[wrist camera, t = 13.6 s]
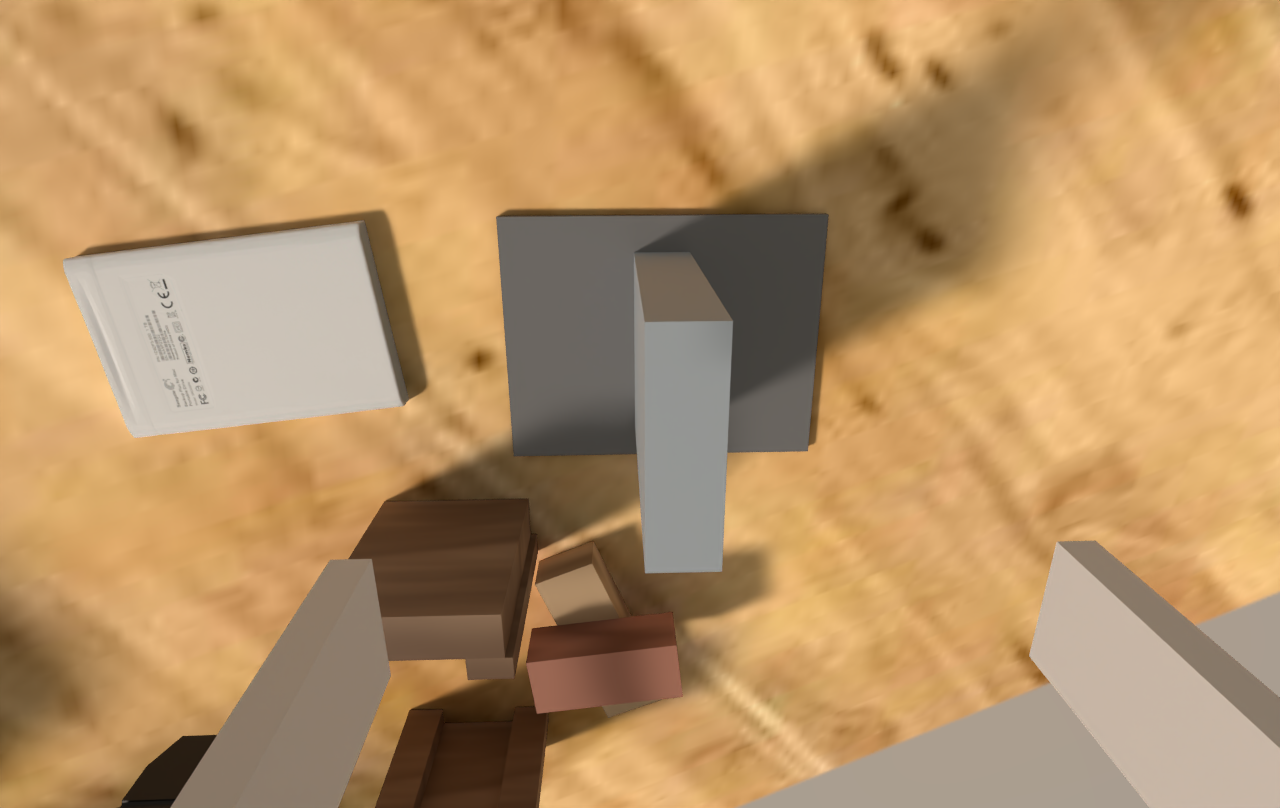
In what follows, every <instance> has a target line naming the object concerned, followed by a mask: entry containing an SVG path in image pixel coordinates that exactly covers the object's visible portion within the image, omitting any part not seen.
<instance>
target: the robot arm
mask: <svg viewBox="0 0 1280 808" xmlns="http://www.w3.org/2000/svg"><path fill="white" fill-rule="evenodd" d="M1029 656H1030V658H1031V659H1032V660H1033V661H1034V663H1035V664H1036V665H1037V666H1038V668H1039V669H1040V670H1041V671H1042V673H1043V674H1044V675H1045V676H1046V678H1047V679H1048V680H1049V682H1050V683H1051V684H1052V685H1053V687H1054V688H1055V689H1056V690H1057V692H1058V693H1059V694H1060V695H1061V697H1062V698H1063V699H1064V700H1065V702H1066V703H1067V704H1068V705H1069V707H1070V708H1071V709H1072V710H1073V712H1074V713H1075V714H1076V716H1077V717H1078V718H1079V719H1080V720H1081V722H1082V723H1083V724H1084V726H1085V727H1086V728H1087V729H1088V731H1089V732H1090V733H1091V734H1092V735H1093V737H1094V738H1095V739H1096V741H1097V742H1098V743H1099V745H1101V747H1102V748H1103V750H1104V751H1105V752H1106V753H1107V755H1108V756H1109V757H1110V758H1111V760H1112V761H1113V762H1114V763H1115V764H1116V766H1117V767H1118V768H1119V770H1120V771H1121V772H1122V773H1123V775H1124V776H1125V777H1126V779H1127V780H1128V781H1129V782H1130V784H1131V785H1132V786H1133V787H1134V789H1135V790H1136V791H1137V792H1138V794H1139V795H1140V796H1141V797H1142V799H1143V800H1144V801H1145V802H1146V804H1147V805H1148V806H1149V807H1150V808H1280V697H1278V696H1277V695H1276V694H1275V693H1274V692H1272V691H1271V690H1270V689H1269V688H1268V687H1267V686H1265V685H1264V684H1263V683H1262V682H1261V681H1259V680H1258V679H1257V678H1256V677H1255V676H1254V675H1253V674H1251V673H1250V672H1249V671H1248V670H1246V669H1245V668H1244V667H1243V666H1242V665H1241V664H1240V663H1238V662H1237V661H1236V660H1235V659H1234V658H1233V657H1231V656H1230V655H1229V654H1228V653H1227V652H1226V651H1224V650H1223V649H1222V648H1221V647H1220V646H1218V645H1217V644H1216V643H1215V642H1214V641H1212V640H1211V639H1210V638H1209V637H1208V636H1207V635H1206V634H1204V633H1203V632H1202V631H1201V630H1200V629H1198V628H1197V627H1196V626H1195V625H1194V624H1193V623H1191V622H1190V621H1189V620H1188V619H1187V618H1186V617H1184V616H1183V615H1182V614H1181V613H1180V612H1179V611H1177V610H1176V609H1175V608H1174V607H1173V606H1171V605H1170V604H1169V603H1168V602H1167V601H1166V600H1164V599H1163V598H1162V597H1161V596H1160V595H1159V594H1157V593H1156V592H1155V591H1154V590H1153V589H1152V588H1150V587H1149V586H1148V585H1147V584H1146V583H1144V582H1143V581H1142V580H1141V579H1140V578H1139V577H1137V576H1136V575H1135V574H1134V573H1133V572H1132V571H1130V570H1129V569H1128V568H1127V567H1126V566H1124V565H1123V564H1122V563H1121V562H1120V561H1119V560H1117V559H1116V558H1115V557H1114V556H1113V555H1112V554H1110V553H1109V552H1108V551H1107V550H1106V549H1105V548H1103V547H1102V546H1101V545H1100V544H1099V543H1097V542H1096V541H1064V542H1057V543H1056V547H1055V551H1054V555H1053V560H1052V564H1051V568H1050V572H1049V576H1048V580H1047V584H1046V588H1045V593H1044V597H1043V601H1042V605H1041V609H1040V613H1039V617H1038V622H1037V626H1036V630H1035V634H1034V638H1033V642H1032V646H1031V651H1030V655H1029ZM390 676H391V674H390V668H389V662H388V656H387V650H386V643H385V637H384V631H383V625H382V619H381V613H380V607H379V601H378V595H377V588H376V582H375V576H374V570H373V564H372V559H345V560H330V561H329V562H328V564H327V566H326V567H325V569H324V570H323V572H322V573H321V575H320V576H319V578H318V580H317V581H316V583H315V584H314V586H313V587H312V589H311V590H310V592H309V593H308V595H307V597H306V598H305V600H304V601H303V603H302V604H301V606H300V607H299V609H298V611H297V612H296V614H295V615H294V617H293V618H292V620H291V621H290V623H289V624H288V626H287V628H286V629H285V631H284V632H283V634H282V635H281V637H280V638H279V640H278V642H277V643H276V645H275V646H274V648H273V649H272V651H271V652H270V654H269V655H268V657H267V659H266V660H265V662H264V663H263V665H262V666H261V668H260V669H259V671H258V673H257V674H256V676H255V677H254V679H253V680H252V682H251V683H250V685H249V686H248V688H247V690H246V691H245V693H244V694H243V696H242V697H241V699H240V700H239V702H238V704H237V705H236V707H235V708H234V710H233V711H232V713H231V714H230V716H229V717H228V719H227V721H226V722H225V724H224V725H223V727H222V728H221V730H220V731H219V733H218V735H204V736H182V737H181V738H180V739H179V740H178V741H176V742H175V743H174V744H173V745H172V746H170V747H169V748H168V749H167V750H166V751H164V752H163V753H162V754H161V755H160V756H158V757H157V758H156V759H155V760H154V761H152V762H151V763H150V764H149V765H148V766H147V767H146V768H145V770H144V771H143V772H142V774H141V775H140V776H139V778H138V779H137V781H136V782H135V783H134V785H133V786H132V787H131V789H130V790H129V792H128V793H127V794H126V796H125V797H124V799H123V800H122V805H121V807H120V808H338V807H339V804H340V802H341V799H342V797H343V794H344V792H345V789H346V787H347V784H348V782H349V779H350V777H351V774H352V772H353V769H354V767H355V764H356V762H357V759H358V757H359V754H360V752H361V749H362V747H363V744H364V742H365V739H366V737H367V734H368V732H369V729H370V727H371V724H372V722H373V719H374V717H375V714H376V711H377V709H378V706H379V704H380V701H381V699H382V696H383V694H384V691H385V689H386V686H387V684H388V681H389V679H390Z"/></svg>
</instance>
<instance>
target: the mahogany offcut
mask: <svg viewBox="0 0 1280 808" xmlns="http://www.w3.org/2000/svg"><path fill="white" fill-rule="evenodd" d="M526 665H527V670H528V674H529V679H530V684H531V688H532V693H533V697H534V702H535V707H536V711H537V714H539V713H548V712H556V711H565V710H573V709H582V708H590V707H599V706H607V705H616V704H624V703H633V702H641V701H650V700H659V699H667V698H676V697H683V694H682V686H681V678H680V669H679V661H678V653H677V645H676V637H675V628H674V620H673V612H667V613H658V614H650V615H642V616H633V617H625V618H617V619H608V620H600V621H591V622H583V623H574V624H566V625H557V626H549V627H540V628H532V632H531V638H530V644H529V649H528V655H527V661H526Z"/></svg>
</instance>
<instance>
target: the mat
mask: <svg viewBox="0 0 1280 808" xmlns="http://www.w3.org/2000/svg"><path fill="white" fill-rule="evenodd" d="M496 219H497V233H498V247H499V260H500V274H501V288H502V301H503V315H504V329H505V342H506V356H507V370H508V383H509V397H510V411H511V424H512V438H513V452H514V456H552V455H612V454H637V448H636V433H635V352H634V252H690V253H691V255H692V256H693V258H694V259H695V261H696V263H697V264H698V266H699V267H700V269H701V271H702V272H703V274H704V275H705V277H706V279H707V280H708V282H709V283H710V285H711V287H712V288H713V290H714V291H715V293H716V295H717V296H718V298H719V299H720V301H721V303H722V304H723V306H724V307H725V309H726V311H727V312H728V314H729V315H730V317H731V319H732V320H733V333H732V355H731V378H730V401H729V424H728V446H727V453H730V452H790V451H808V443H809V431H810V420H811V408H812V397H813V386H814V374H815V363H816V352H817V340H818V329H819V318H820V306H821V295H822V283H823V272H824V261H825V249H826V238H827V227H828V214H704V215H563V216H497V217H496Z"/></svg>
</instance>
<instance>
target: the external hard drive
mask: <svg viewBox="0 0 1280 808" xmlns="http://www.w3.org/2000/svg"><path fill="white" fill-rule="evenodd" d="M63 266H64V271H65V274H66V277H67V279H68V281H69V284H70V287H71V289H72V292H73V294H74V297H75V299H76V301H77V304H78V306H79V308H80V311H81V313H82V316H83V318H84V321H85V323H86V326H87V328H88V331H89V333H90V336H91V338H92V341H93V343H94V345H95V348H96V350H97V353H98V356H99V358H100V360H101V363H102V366H103V368H104V371H105V373H106V376H107V378H108V381H109V383H110V386H111V388H112V391H113V393H114V396H115V398H116V401H117V403H118V406H119V409H120V411H121V414H122V416H123V419H124V421H125V424H126V426H127V428H128V430H129V432H130V433H131V434H132V436H133V437H134V438H138V437H146V436H155V435H162V434H173V433H182V432H190V431H199V430H208V429H217V428H225V427H234V426H242V425H251V424H259V423H267V422H276V421H284V420H292V419H301V418H310V417H318V416H327V415H335V414H343V413H351V412H359V411H366V410H376V409H384V408H392V407H400V406H404V405H405V404H406V402H407V401H408V400H409V398H408V393H407V390H406V386H405V382H404V378H403V374H402V370H401V366H400V362H399V358H398V354H397V350H396V346H395V342H394V338H393V334H392V330H391V326H390V322H389V318H388V314H387V310H386V306H385V302H384V298H383V294H382V290H381V286H380V282H379V278H378V274H377V269H376V265H375V261H374V257H373V253H372V249H371V245H370V241H369V237H368V233H367V229H366V225H365V221H364V220H361V221H354V222H346V223H338V224H330V225H321V226H314V227H307V228H299V229H291V230H283V231H275V232H267V233H259V234H251V235H243V236H235V237H227V238H219V239H211V240H203V241H195V242H186V243H178V244H170V245H162V246H155V247H147V248H139V249H131V250H122V251H115V252H107V253H99V254H90V255H83V256H76V257H72V258H66V259H64V260H63Z"/></svg>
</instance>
